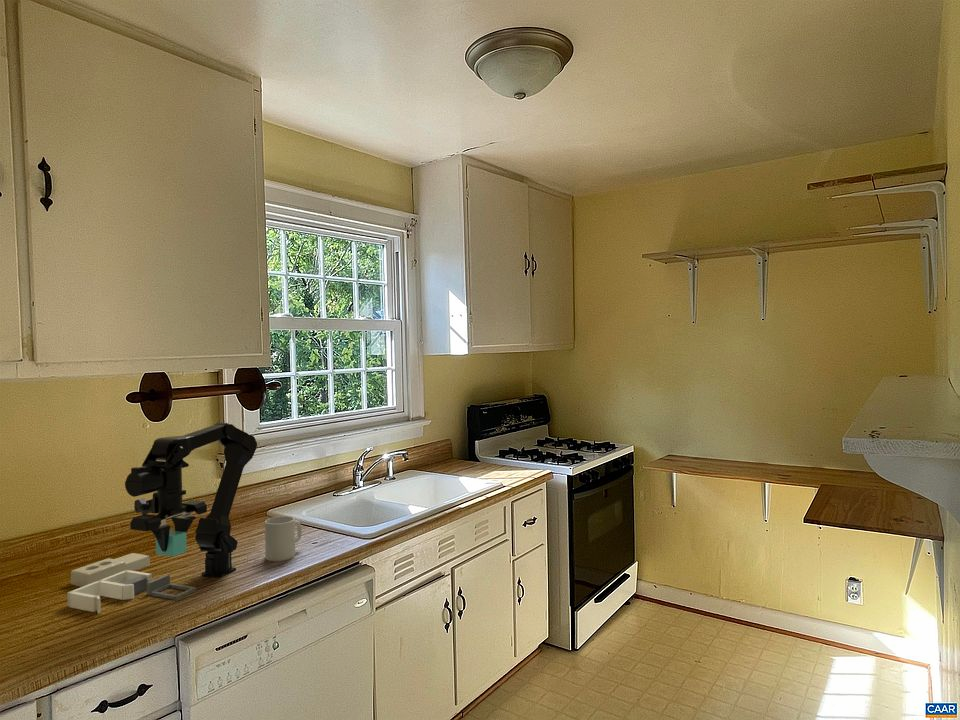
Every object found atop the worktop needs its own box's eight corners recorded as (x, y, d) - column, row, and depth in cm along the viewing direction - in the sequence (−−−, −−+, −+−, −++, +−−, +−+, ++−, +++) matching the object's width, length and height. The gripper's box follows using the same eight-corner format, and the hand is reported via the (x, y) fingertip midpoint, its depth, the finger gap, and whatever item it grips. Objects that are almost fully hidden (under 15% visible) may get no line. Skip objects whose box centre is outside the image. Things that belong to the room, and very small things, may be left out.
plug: (153, 553, 155) (153, 534, 155) (166, 548, 159) (166, 529, 159) (173, 556, 153) (173, 536, 153) (186, 551, 157) (186, 532, 157)
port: (157, 588, 160) (157, 574, 160) (98, 613, 145) (98, 599, 145) (127, 582, 164) (126, 569, 164) (66, 607, 149) (65, 593, 149)
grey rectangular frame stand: (146, 594, 156) (146, 582, 156) (167, 585, 162) (167, 574, 161) (176, 599, 152) (175, 587, 152) (196, 590, 158) (195, 578, 158)
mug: (278, 563, 177) (277, 525, 177) (259, 558, 182) (258, 521, 181) (310, 551, 187) (309, 515, 187) (292, 546, 192) (291, 512, 191)
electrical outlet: (149, 552, 177) (87, 574, 161) (149, 566, 177) (87, 589, 161) (132, 549, 180) (70, 570, 164) (133, 563, 180) (70, 585, 164)
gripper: (176, 478, 167) (177, 535, 167) (113, 493, 150) (114, 557, 150) (207, 480, 163) (209, 539, 163) (146, 496, 146) (148, 562, 146)
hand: (171, 548), depth 156 cm, fingers closed on plug, 4 cm apart
